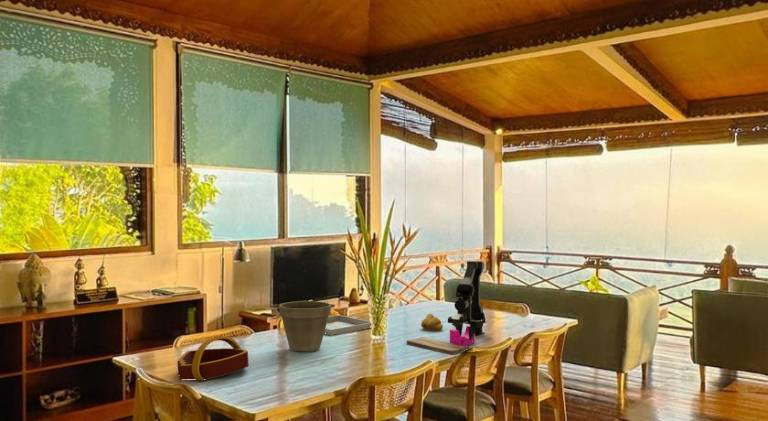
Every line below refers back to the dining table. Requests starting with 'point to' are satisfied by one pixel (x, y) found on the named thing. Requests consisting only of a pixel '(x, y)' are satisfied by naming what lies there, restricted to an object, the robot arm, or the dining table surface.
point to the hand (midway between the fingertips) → (465, 338)
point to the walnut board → (437, 345)
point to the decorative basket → (212, 360)
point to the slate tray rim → (361, 325)
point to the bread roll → (431, 323)
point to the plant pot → (305, 323)
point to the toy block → (461, 337)
